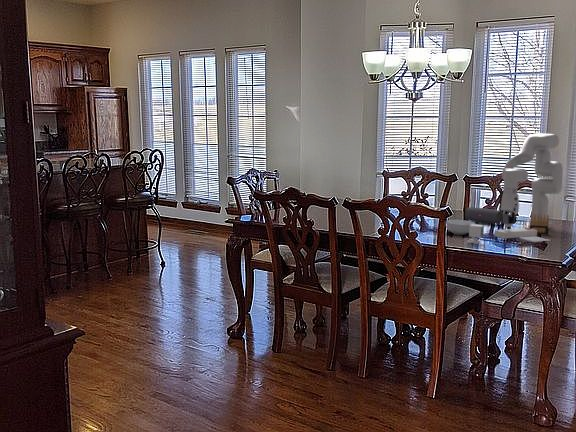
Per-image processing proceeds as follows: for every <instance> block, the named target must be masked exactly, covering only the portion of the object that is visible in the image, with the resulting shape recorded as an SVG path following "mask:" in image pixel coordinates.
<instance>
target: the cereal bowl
mask: <svg viewBox="0 0 576 432" xmlns="http://www.w3.org/2000/svg"><path fill="white" fill-rule="evenodd" d="M446 221H447V226H446V225H445V227H446V229H447V230H448V231H449V232H451V233H452V234H454V235H462V236H463V235H467V234H469V227H470V225H472V224H476V222H475V221H472V220H464V219H448V220H446Z"/></svg>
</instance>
